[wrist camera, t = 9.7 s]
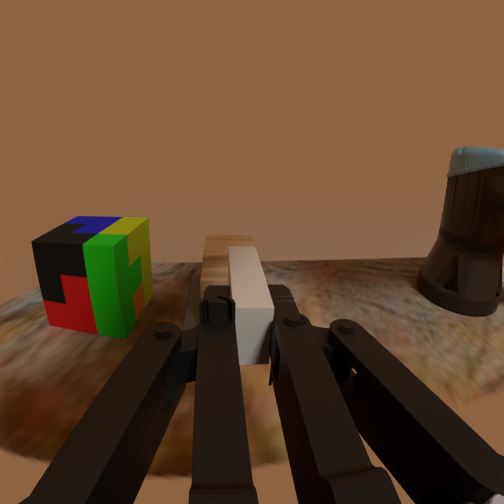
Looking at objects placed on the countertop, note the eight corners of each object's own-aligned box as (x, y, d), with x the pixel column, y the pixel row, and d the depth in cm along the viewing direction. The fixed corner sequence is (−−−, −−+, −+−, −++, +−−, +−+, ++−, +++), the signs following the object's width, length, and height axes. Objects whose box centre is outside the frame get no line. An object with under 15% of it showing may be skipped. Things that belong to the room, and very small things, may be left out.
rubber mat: (278, 332, 33) (278, 329, 33) (182, 332, 32) (182, 329, 31) (262, 276, 46) (262, 274, 46) (192, 275, 45) (192, 273, 44)
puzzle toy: (87, 287, 39) (77, 216, 35) (153, 294, 39) (148, 217, 35) (50, 325, 29) (31, 241, 26) (126, 339, 29) (113, 246, 26)
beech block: (264, 281, 30) (250, 235, 43) (200, 280, 29) (206, 234, 42) (260, 333, 32) (248, 276, 45) (201, 333, 31) (206, 275, 44)
